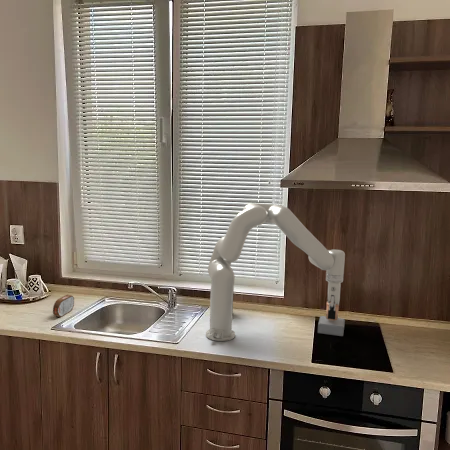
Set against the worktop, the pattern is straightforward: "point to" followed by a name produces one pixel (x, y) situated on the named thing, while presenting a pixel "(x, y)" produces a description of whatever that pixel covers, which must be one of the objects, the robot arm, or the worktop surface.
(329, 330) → the pedestal
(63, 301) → the tin
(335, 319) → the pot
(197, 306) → the worktop surface
